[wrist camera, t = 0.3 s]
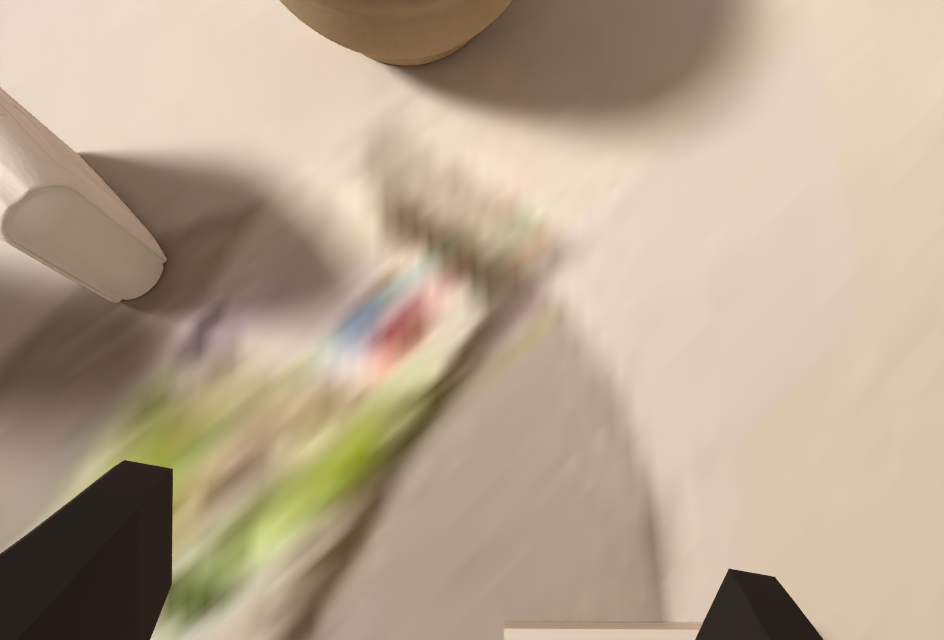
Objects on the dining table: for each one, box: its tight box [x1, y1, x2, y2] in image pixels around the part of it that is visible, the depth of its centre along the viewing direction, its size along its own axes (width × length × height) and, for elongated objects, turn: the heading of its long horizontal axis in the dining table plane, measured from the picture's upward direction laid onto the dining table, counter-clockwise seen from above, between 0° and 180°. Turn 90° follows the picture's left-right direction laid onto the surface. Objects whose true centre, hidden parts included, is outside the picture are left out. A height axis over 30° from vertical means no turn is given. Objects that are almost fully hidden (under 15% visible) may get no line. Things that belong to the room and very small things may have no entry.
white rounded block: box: [0, 87, 167, 303], centre depth 37 cm, size 10×4×12 cm, turn 44°
